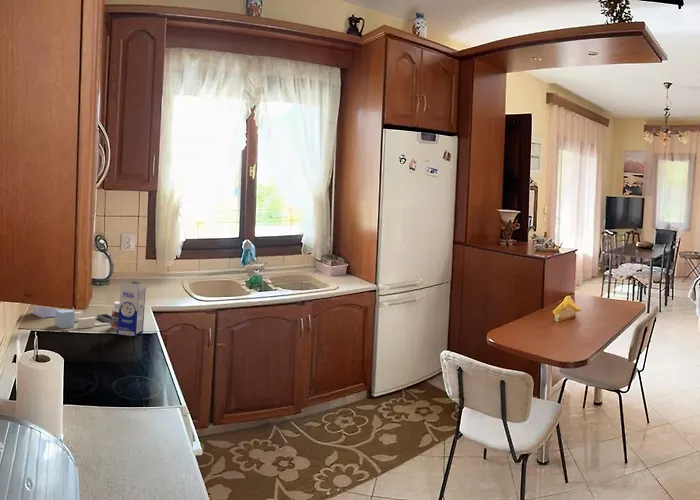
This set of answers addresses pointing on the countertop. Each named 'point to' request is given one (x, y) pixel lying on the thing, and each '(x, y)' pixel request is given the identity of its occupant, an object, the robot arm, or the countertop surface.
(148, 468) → the countertop surface
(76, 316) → the channel
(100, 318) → the pit tray
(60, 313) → the block
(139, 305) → the milk carton
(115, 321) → the pill bottle
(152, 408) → the countertop surface
